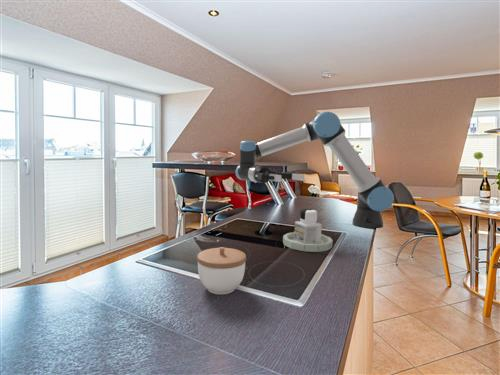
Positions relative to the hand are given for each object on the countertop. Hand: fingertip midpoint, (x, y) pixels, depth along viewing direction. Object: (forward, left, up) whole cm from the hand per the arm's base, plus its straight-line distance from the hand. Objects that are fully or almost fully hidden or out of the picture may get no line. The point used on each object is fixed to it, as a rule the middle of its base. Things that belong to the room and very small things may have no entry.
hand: (292, 178), depth 127 cm
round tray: (-2, +10, -26) cm, 28 cm away
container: (-2, +9, -25) cm, 27 cm away
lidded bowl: (+45, +33, -26) cm, 61 cm away
